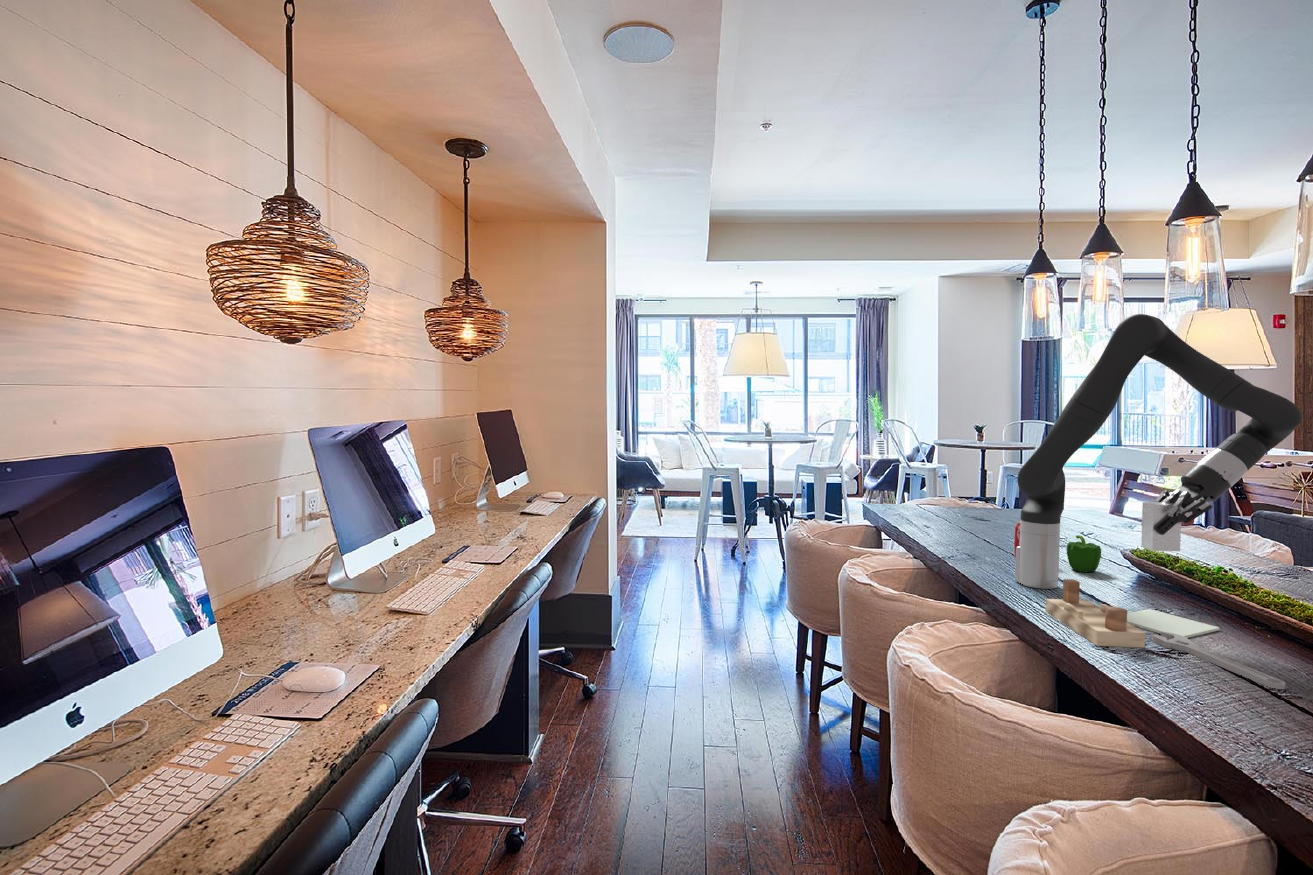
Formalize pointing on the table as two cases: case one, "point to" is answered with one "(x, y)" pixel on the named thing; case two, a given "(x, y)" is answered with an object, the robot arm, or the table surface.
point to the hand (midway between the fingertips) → (1151, 529)
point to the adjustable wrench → (1215, 659)
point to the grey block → (1150, 536)
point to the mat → (1168, 623)
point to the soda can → (1017, 537)
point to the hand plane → (1094, 619)
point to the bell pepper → (1083, 555)
